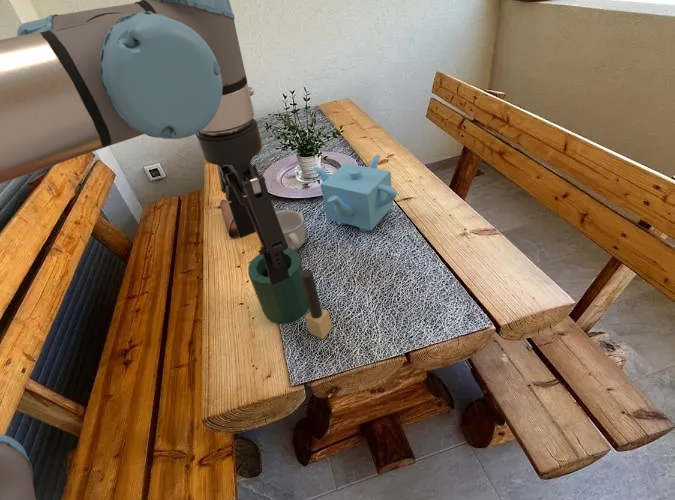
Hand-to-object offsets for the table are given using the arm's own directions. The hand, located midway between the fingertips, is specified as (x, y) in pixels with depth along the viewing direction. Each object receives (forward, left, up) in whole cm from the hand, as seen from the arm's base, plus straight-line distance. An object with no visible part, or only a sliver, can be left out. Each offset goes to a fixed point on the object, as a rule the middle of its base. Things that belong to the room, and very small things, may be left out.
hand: (262, 255), depth 61 cm
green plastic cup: (+4, +11, -24) cm, 27 cm away
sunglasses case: (+10, +51, -24) cm, 58 cm away
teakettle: (+35, +27, -24) cm, 51 cm away
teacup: (+14, +28, -24) cm, 40 cm away
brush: (+6, 0, -24) cm, 25 cm away
